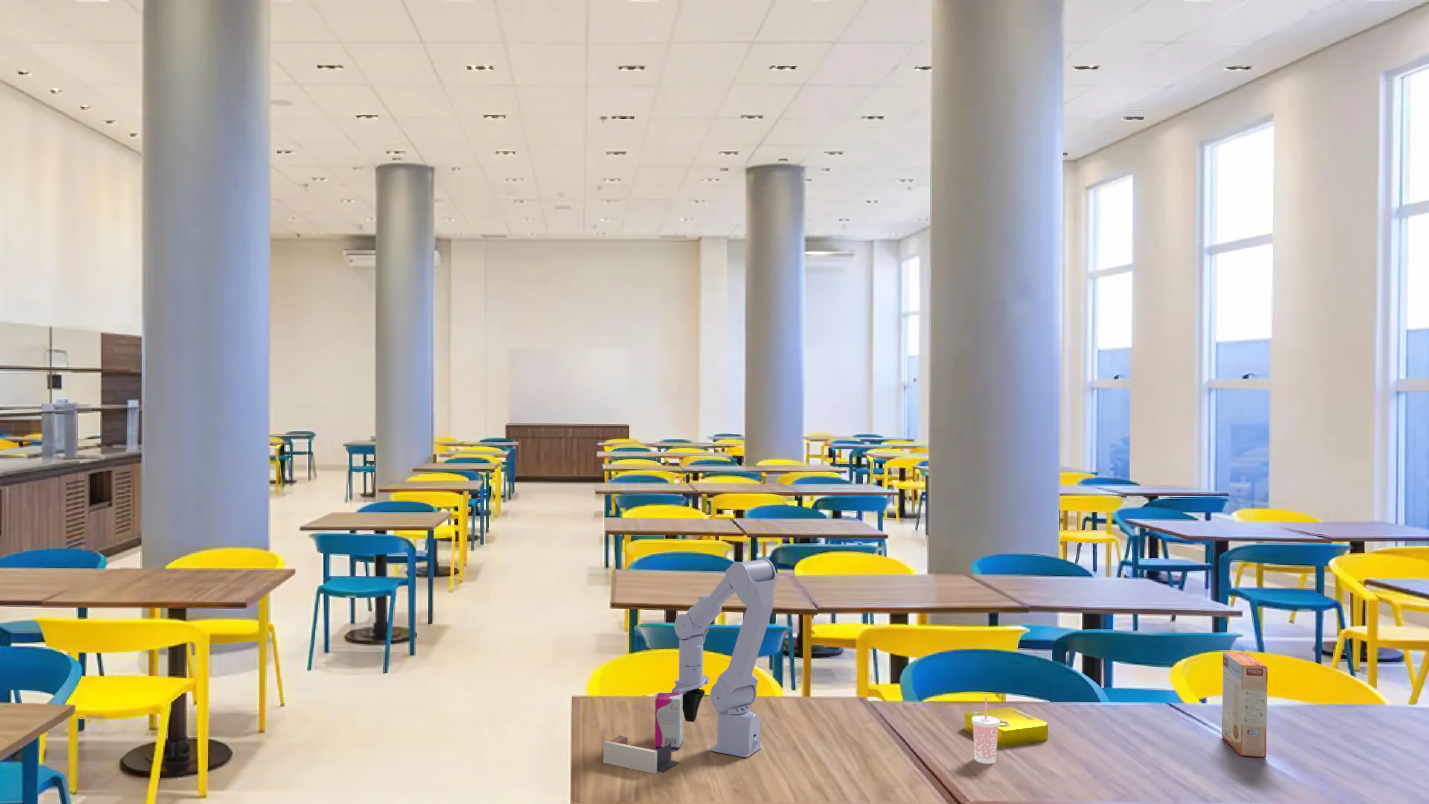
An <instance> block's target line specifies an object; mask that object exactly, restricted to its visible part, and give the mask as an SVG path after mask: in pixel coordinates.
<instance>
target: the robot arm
mask: <svg viewBox="0 0 1429 804" xmlns="http://www.w3.org/2000/svg"><path fill="white" fill-rule="evenodd" d="M778 578H779V576H778V574H777V572H776V568H775V566H774V564H773V563H772V561H771V560H769V559H767V558H760V559H758V560H749V561H741V562H740V561H736V562H733V563H732V564H731V565H730V566H729V567H728V568H727V569H726V570H725V575H724V577H723V578H722V579H721V580H720V582H719V583H718V584H717V586H716V587H715V589H713V591H712V592H711V593H709V594H708V593H706V594H701V595H699V596H698V599H697V600H698V601H696V602H695V604H694V605H692V606H691V607H689V608H688V611H687V612H686V613H684V614H683V613H679V614H678V615H677V617H676V618H675V621H674V624H673V625H674V628H673V629H674V631H675V635H676V636H677V637H678V638H679V640H678V641H679V642H678V645H679V646H678V647H679V648H678V651H679V652H678V679H676V680H674V684H675V686H674V687H672V689H671V693H677V694H680V693H682V694H683V717H684V721H685V722H688V723H694V722H696V719H697V716H698V711H699V706H700V704H701V701H702V699H703V697H704V696H705V693H706V692H705V691H706V690H705V689H703V687H704V685H709V683H710V682H709V676H708V675H706V674H705V675H704V665H703V664H704V663H703V662H704V644H705V643H706V636H707V634H708V633H709V629H710V625H711V624H712V623H713V622H714V620H715V619H717V617H718V616H719V615H720V614H721V613H722V608H723V607H722V605H724V603H725V602H726V601H728V600H729V599H730V598H731V597H732V596H733V595H734V594H736V595H737V597H738V599H739V600H740V602H741V603H742V604H743V605H745V606H746V610H745V613H744V615H743V616H744V617H743V619H742V623H741V626H740V629H739V632H738V636H737V638H736V641H735V646H734V647H733V651H732V655H731V658H730V660H729V665H728V667H727V668H726V669H725V670H724V671H723V672H722V673H721V674H720V675H718V676H717V679H716V682H715V683H714V684H713V685H712V687H711V689H710V691H709V692H710V693H709V696H710V702H711V705H712V707H713V708H714V710H715V712H717V719H716V720H717V721H716V722H717V724H716V725H717V729H716V730H717V734H716V735H717V736H716V738H717V740H716V744H715V745H712V747H710V748H709V751H711V752H716V753H720V754H725V755H731V756H736V757H740V758H741V757H742V758H749V757H750V756H751V755H753V754H754V753H757V751H759V750H760V749H761V748H762V745H761V718H760V716H759V714H757V713H754V712H753V711H751V710H752V704H754V703H755V701H756V699H757V695H758V693H757V692H758V691H757V688H758V687H757V686H758V682H759V679H758V678H757V676H756V675H755V674H754V673H753V671H754V669H755V666H756V664H757V663H756V662H757V660H758V657H759V652H760V650H761V647H762V643H763V641H764V638H765V634H766V631H767V627H768V625H769V621H770V618H771V616H772V613H773V610H774V593H775V591H774V590H775V588H776V585H777V581H778ZM701 688H702V689H701Z"/></svg>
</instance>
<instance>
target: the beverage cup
mask: <svg viewBox="0 0 1429 804" xmlns="http://www.w3.org/2000/svg"><path fill="white" fill-rule="evenodd" d="M987 709H988V697H987V696H984V710H985V716H974V717H972V723H973V734H972V735H973V747H974V748H973V749H974V751H973V752H974V760H975V761H976V762H978V763H981V764H986V765H987V764H995V763H996V762H997V753H998V752H997V750H998V746H997V739H998V726H999V725H1000V720H999V719H997V718H995V717H991V716H987Z"/></svg>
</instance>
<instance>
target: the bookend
mask: <svg viewBox="0 0 1429 804" xmlns="http://www.w3.org/2000/svg"><path fill="white" fill-rule="evenodd" d="M656 751H657V772H659V773H666V772H667V771H669V770H670V769H672V768H674V767H675V766H677V765H679V764H680V762H679V761H677V760H672V749H671V743H669V744H667V745H665V746H664V747H662V748H660V749H656Z"/></svg>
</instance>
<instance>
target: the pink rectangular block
mask: <svg viewBox="0 0 1429 804" xmlns="http://www.w3.org/2000/svg"><path fill="white" fill-rule="evenodd" d="M628 739H629V738H628V736H624V735H618V736H616V737H615V738H612V739H611V740H609V741H610V742H615V743H620V744H625V745H628Z"/></svg>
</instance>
